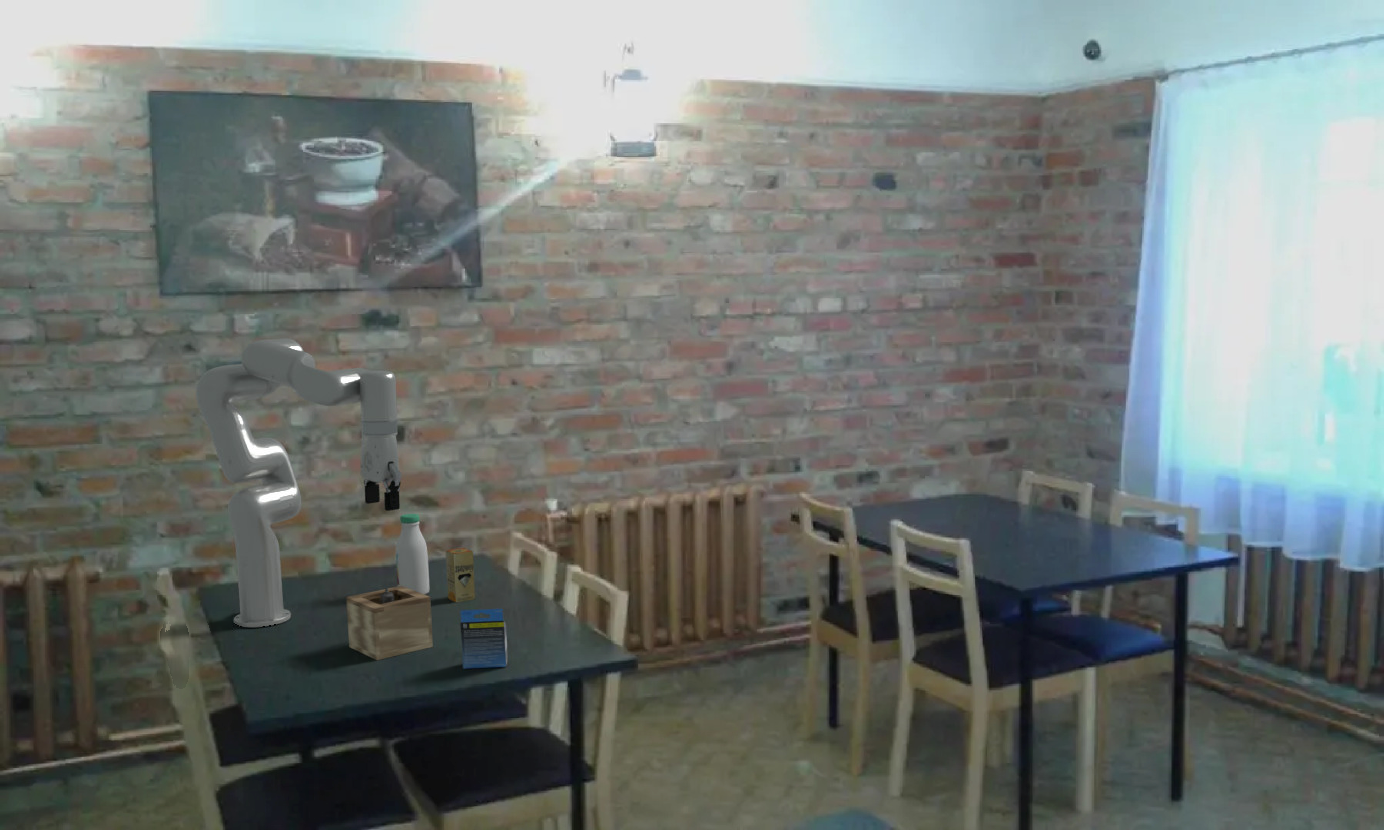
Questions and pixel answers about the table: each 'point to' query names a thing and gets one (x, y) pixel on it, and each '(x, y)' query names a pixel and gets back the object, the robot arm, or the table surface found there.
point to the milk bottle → (412, 556)
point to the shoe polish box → (460, 575)
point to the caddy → (389, 623)
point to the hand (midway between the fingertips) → (382, 506)
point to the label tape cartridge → (483, 638)
